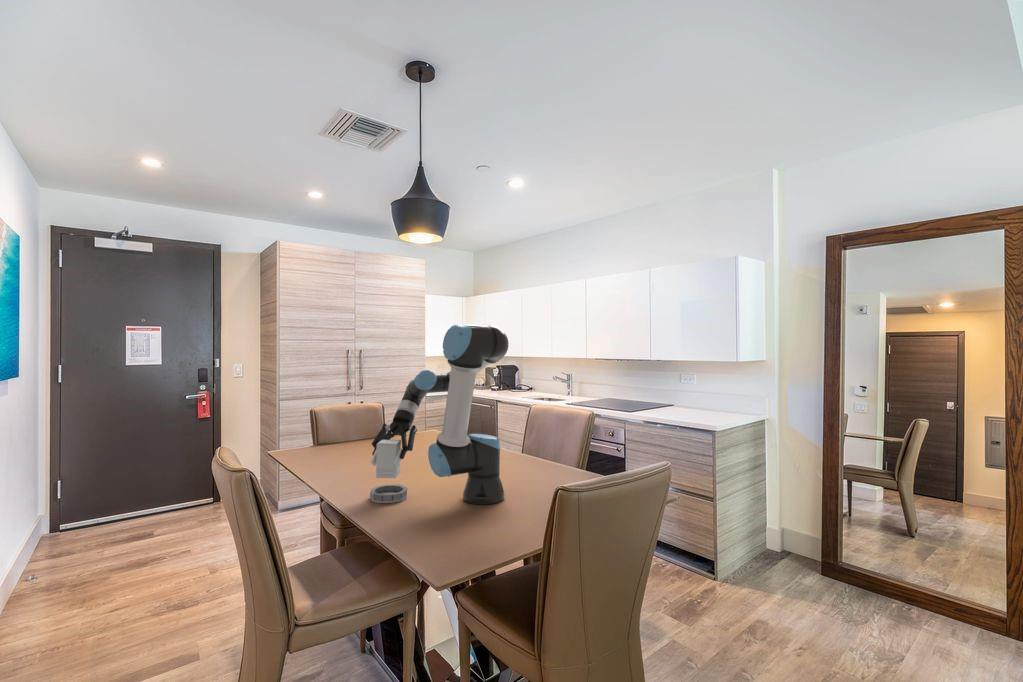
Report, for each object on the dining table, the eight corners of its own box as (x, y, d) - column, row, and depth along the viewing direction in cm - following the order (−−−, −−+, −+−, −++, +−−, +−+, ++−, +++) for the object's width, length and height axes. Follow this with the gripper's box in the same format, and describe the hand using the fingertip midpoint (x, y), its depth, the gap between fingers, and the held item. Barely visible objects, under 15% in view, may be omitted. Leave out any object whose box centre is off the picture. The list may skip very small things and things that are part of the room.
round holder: (413, 498, 175) (413, 490, 175) (379, 506, 166) (379, 497, 167) (397, 490, 185) (397, 482, 185) (364, 497, 176) (364, 488, 177)
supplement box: (395, 478, 172) (396, 443, 172) (375, 478, 173) (375, 443, 173) (401, 472, 180) (401, 439, 180) (381, 472, 180) (381, 439, 180)
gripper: (433, 421, 188) (414, 472, 173) (384, 418, 194) (362, 468, 178) (427, 409, 183) (407, 461, 168) (377, 407, 189) (353, 457, 173)
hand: (384, 464), depth 173 cm, fingers closed on supplement box, 9 cm apart
